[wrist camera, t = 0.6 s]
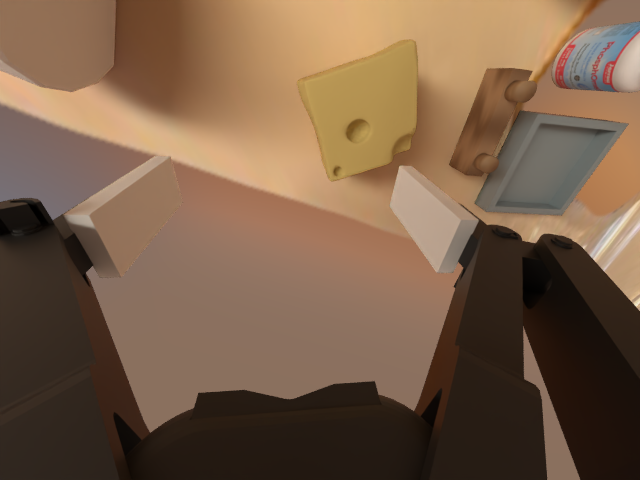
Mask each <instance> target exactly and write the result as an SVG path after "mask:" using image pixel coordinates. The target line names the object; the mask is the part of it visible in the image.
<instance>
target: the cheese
mask: <svg viewBox="0 0 640 480" xmlns="http://www.w3.org/2000/svg"><path fill="white" fill-rule="evenodd" d="M297 85H298V90H299V93H300V96H301V99H302V102H303V104H304V106H305V108H306V110H307V112H308V114H309V116H310V119H311V121H312V123H313V126H314V129H315V131H316V135H317V139H318V143H319V147H320V152H321V157H322V162H323V165H324V168H325V170H326V173H327V176H328V178H329V180H330V181H336V180H340V179H343V178H346V177H349V176H352V175H356V174H359V173H362V172H365V171H368V170H371V169H374V168H378V167H381V166H384V165H387V164H389V163H391V161H392V160H393V156H394V155H395V154H397V153H400V152H404V151H407V150H409V149H410V148H411V139H412V137H413V135H414V133H415V131H416V126H417V87H418V57H417V48H416V42H415V41H414V40H402V41H399V42H397V43H395V44H393V45H391V46H389V47H387V48H385V49H383V50H381V51H379V52H378V53H376V54H373V55H371V56H369V57H365V58H362V59H358V60H355V61H352V62H349V63H346V64H343V65H340V66H337V67H334V68H332V69H329V70H326V71H323V72H320V73H317V74H314V75H311V76H308V77H305V78H302V79H300V80H298V81H297Z"/></svg>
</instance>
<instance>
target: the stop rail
mask: <svg viewBox="0 0 640 480" xmlns="http://www.w3.org/2000/svg"><path fill="white" fill-rule="evenodd" d="M531 73H532V71H529V70H522V69H515V68H496V69H487V70H486V73H485V75H484V78H483V80H482V83H481V86H480V88H479V91H478V93H477V96H476V98H475V101H474V103H473V106H472V108H471V111H470V113H469V116H468V119H467V121H466V124H465V126H464V129H463V131H462V134H461V136H460V139H459V141H458V144H457V146H456V149H455V152H454V154H453V157H452V159H451V162H450V164H449V165H450V166H452V167H454V168H455V169H457V170H459V171H460V172H462V173H464V174H465V175H474V176H482V175H483V173H484V172H485V173H491V172H493V171H495V170H496V169H497V167H498V165H499V160H498V159H497V158H495V157H493V156H492V154H493V152H494V150H495V148H496V146H497V144H498V142H499V140H500V138H501V136H502V134H503V132H504V129H505V127H506V125H507V123H508V121H509V119H510V117H511V115H512V113H513V111H514V109H515V107H516V104H517V102H527V101H528V100H530V99H531V98H532V97H533V96H534V94H535V92H536V89H537V84H536V83H535V82H534V81H528V80H529V77H530V75H531Z"/></svg>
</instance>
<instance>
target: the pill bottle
mask: <svg viewBox="0 0 640 480" xmlns="http://www.w3.org/2000/svg"><path fill="white" fill-rule="evenodd" d="M552 80H553V82H554V84H555V85H556V86H558V87H560V88H566V89H580V90H596V91H610V92H628V93H630V92H637V91H640V22H633V23H625V24H617V25H610V26H602V27H596V28H590V29H587V30H584V31H582V32H580V33H579V34H577V35H576V36H574V37H573V38H572V39H571V40H569V41H568V42H567V43H566V44H565V45H564V47H563V48H562V49H561V50H560V52H559V53H558V55H557V57H556V59H555V61H554V64H553V67H552Z"/></svg>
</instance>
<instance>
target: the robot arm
mask: <svg viewBox="0 0 640 480" xmlns="http://www.w3.org/2000/svg"><path fill="white" fill-rule="evenodd" d="M182 203H183V201H182V197H181V193H180V190H179V186H178V182H177V178H176V174H175V171H174V167H173V163H172V159H171V156H155V157H153V158H151V159H150V160H148V161H147V162H145V163H144V164H142V165H140V166H139V167H137V168H136V169H134V170H133V171H131V172H129V173H128V174H126V175H125V176H123V177H121V178H120V179H118V180H117V181H115V182H114V183H112V184H110V185H109V186H107V187H106V188H104V189H102V190H101V191H99V192H98V193H97V194H95V195H93V196H91V197H90V198H88V199H86V200H84V201H83V202H81V203H80V204H79V205H76V206H75V207H73V208H72V209H71V210H68V211H67V212H65V213H64V214H62V215H61V216H59V217H57V218H56V219H54V220H52V219H51V217H50V216H49V214H48V212H47V211H46V209H45V208H44V206H43V204H42V203H41V201H39V200H38V199H33V198H20V199H13V200H7V201H3V202H0V480H547V470H546V456H545V441H544V426H543V412H542V399H541V395H540V390H539V389H538V388H537V387H536V385H534V384H532V383H530V382H528V381H526V380H525V379H524V362H523V361H524V357H523V326H524V329H525V332H526V334H527V337H528V340H529V343H530V345H531V348H532V350H533V353H534V356H535V359H536V361H537V364H538V367H539V369H540V372H541V375H542V377H543V380H544V383H545V385H546V388H547V391H548V394H549V396H550V399H551V401H552V404H553V407H554V410H555V412H556V415H557V418H558V421H559V423H560V426H561V429H562V431H563V434H564V437H565V439H566V442H567V445H568V447H569V450H570V453H571V456H572V458H573V460H574V463H575V466H576V469H577V471H578V474H579V477H580V480H640V311H639V310H638V309H637V308H636V306H635V305H634V304H633V303H632V302H631V301H630V300H629V299H628V298H627V297H626V295H625V294H624V293H623V292H622V291H621V290H620V289H619V288H618V287H617V285H616V284H615V283H614V282H613V281H612V280H611V279H610V278H609V277H608V275H607V274H606V273H605V272H604V271H603V270H602V269H601V268H600V267H599V265H598V264H597V263H596V262H595V261H594V260H593V259H592V258H591V257H590V255H589V254H588V253H587V252H586V251H585V250H584V249H583V248H582V247H581V246H580V245H579V244H577V243H575V242H574V241H572V240H571V239H569V238H566V237H564V236H558V235H554V234H543V235H542V236H541V237H540V238H539V240H538V241H537V243H530V242H525V241H522V238H521V236H520V235H519V234H518V233H517V232H515V231H513V230H511V229H509V228H507V227H503V226H499V225H487V224H485V223H484V222H483V221H481V220H480V219H479V218H478V217H476V216H475V215H473V213H471V212H470V211H468V209H466V208H465V207H464V206H463V205H461V204H459V203H457V202H456V201H455V200H453V199H452V198H451V197H450V196H448V195H447V194H446V193H445V192H443V191H442V190H441V189H440V188H438V187H437V186H436V185H435V184H433V183H432V182H431V181H430V180H428V179H427V178H426V177H425V176H423V175H422V174H421V173H420V172H418V171H417V170H416V169H415V168H413V167H412V166H399V170H398V174H397V178H396V182H395V186H394V190H393V194H392V198H391V202H390V208H391V209H392V211H393V212H394V213H395V215H396V216H397V218H398V219H399V220H400V222H401V223H402V225H403V226H404V227H405V229H406V230H407V232H408V233H409V234H410V236H411V237H412V239H413V240H414V241H415V243H416V244H417V246H418V247H419V248H420V250H421V251H422V253H423V254H424V255H425V257H426V258H427V260H428V261H429V262H430V264H431V265H432V266H433V268H434V269H435V271H436V272H437V273H453V272H454V270H455V268H456V266H457V264H458V262H459V263H460V264H461V265H462V267H463V270H462V272H461V274H460V275H459V278H458V279H457V281H456V283H455V285H454V287H455V292H454V295H453V298H452V301H451V304H450V307H449V310H448V313H447V316H446V319H445V322H444V325H443V329H442V332H441V335H440V338H439V341H438V344H437V347H436V350H435V353H434V356H433V359H432V362H431V365H430V369H429V372H428V375H427V378H426V381H425V384H424V387H423V390H422V393H421V396H420V399H419V402H418V404H417V406H416V408H415V410H414V411H413V410H411V409H409V408H408V407H406V406H405V405H403V404H401V403H399V402H397V401H395V400H393V399H390V398H388V397H385V396H382V395H378V392H377V388H376V384H375V382H374V381H373V382H357V383H343V384H333V385H330V386H328V387H325V388H322V389H319V390H317V391H314V392H311V393H309V394H306V395H303V396H300V397H297V398H295V399H283V398H278V397H274V396H269V395H265V394H260V393H256V392H251V391H247V390H239V391H238V390H237V391H222V392H206V393H198V397H197V400H196V403H195V407H194V408H193V409H191V410H188V411H186V412H184V413H181V414H179V415H177V416H175V417H174V418H172V419H170V420H169V421H167V422H165V423H164V424H162V425H161V426H159V427H158V428H157V429H155V430H154V431H152V432H151V433H150V432H149V430H148V428H147V426H146V424H145V422H144V420H143V418H142V416H141V413H140V410H139V407H138V405H137V402H136V400H135V397H134V394H133V392H132V390H131V387H130V384H129V381H128V379H127V376H126V373H125V371H124V368H123V365H122V363H121V360H120V358H119V355H118V352H117V350H116V347H115V345H114V342H113V339H112V337H111V334H110V331H109V329H108V326H107V323H106V321H105V318H104V316H103V313H102V310H101V308H100V305H99V302H98V300H97V298H96V294H95V292H94V289H93V287H92V284H91V281H90V279H89V278H88V276H87V275H86V272H87V271H88V270H89V269H90V268H91V267H92V266H93V267H94V269H95V270H96V272H97V274H98V275H99V277H100V278H114V277H122V276H123V275H124V274H125V272H126V271H127V270H128V269H129V268H130V266H131V265H132V264H133V263H134V261H135V260H136V259H137V258H138V257H139V255H140V254H141V253H142V252H143V250H144V249H145V248H146V247H147V246H148V244H149V243H150V242H151V241H152V239H153V238H154V237H155V236H156V235H157V233H158V232H159V231H160V230H161V228H162V227H163V226H164V225H165V224H166V222H167V221H168V220H169V219H170V217H171V216H172V215H173V214H174V212H175V211H176V210H177V209H178V208H179V207H180V205H181V204H182Z"/></svg>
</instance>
